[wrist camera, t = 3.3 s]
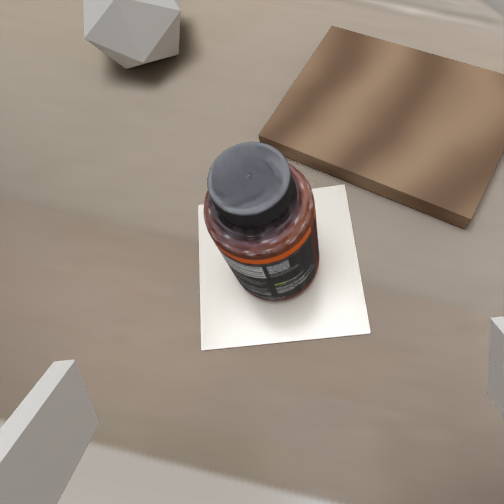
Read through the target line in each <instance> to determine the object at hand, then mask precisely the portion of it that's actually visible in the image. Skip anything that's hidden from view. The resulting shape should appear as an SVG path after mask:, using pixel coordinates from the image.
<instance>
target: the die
mask: <svg viewBox="0 0 504 504" xmlns="http://www.w3.org/2000/svg"><path fill="white" fill-rule="evenodd" d="M180 12H181V8H180V0H84V38H85V39H86V40H87V41H89V42H90V43H91V44H93V45H94V46H95V47H97V48H98V49H100V50H101V51H102V52H104V53H105V54H106V55H108V56H109V57H110V58H112V59H113V60H114V61H116V62H117V63H118V64H120V65H121V66H122V67H124V68H125V69H128V68H132V67H135V66H139V65H143V64H146V63H150V62H153V61H157V60H161V59H164V58H168V57H171V56H175V55H179V36H180Z"/></svg>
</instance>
